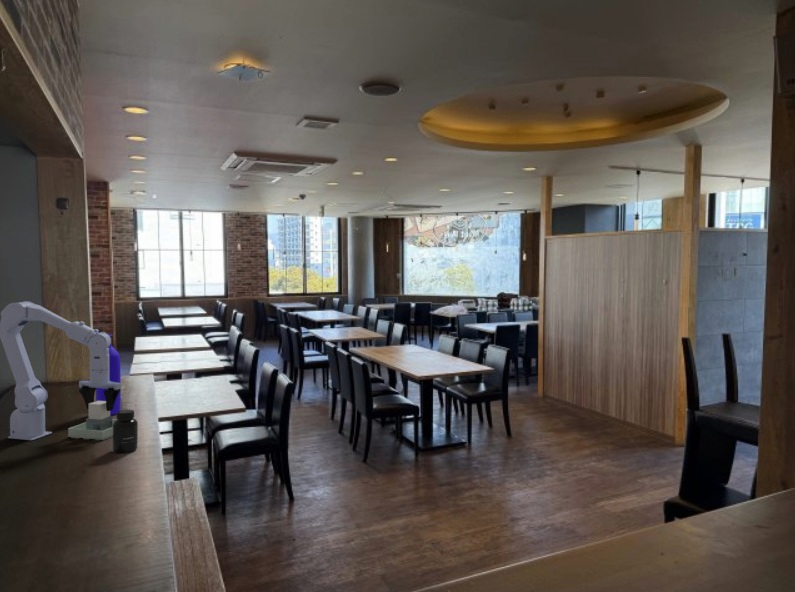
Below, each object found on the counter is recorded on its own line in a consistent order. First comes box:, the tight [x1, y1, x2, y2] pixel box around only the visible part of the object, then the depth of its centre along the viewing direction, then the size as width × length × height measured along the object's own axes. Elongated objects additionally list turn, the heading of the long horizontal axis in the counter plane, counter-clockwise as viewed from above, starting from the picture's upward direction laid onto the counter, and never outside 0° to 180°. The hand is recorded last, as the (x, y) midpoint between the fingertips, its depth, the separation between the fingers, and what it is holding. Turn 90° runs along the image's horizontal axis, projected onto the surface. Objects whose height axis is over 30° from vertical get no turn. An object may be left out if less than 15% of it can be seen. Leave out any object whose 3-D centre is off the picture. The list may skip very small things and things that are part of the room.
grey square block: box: [85, 415, 113, 431], centre depth 184 cm, size 6×6×5 cm
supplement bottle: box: [112, 409, 139, 454], centre depth 168 cm, size 7×7×12 cm
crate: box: [67, 418, 117, 441], centre depth 184 cm, size 13×13×3 cm
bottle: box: [95, 334, 122, 416], centre depth 209 cm, size 8×8×30 cm
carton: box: [88, 401, 111, 420], centre depth 184 cm, size 4×4×5 cm
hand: (100, 409), depth 184 cm, fingers open, 7 cm apart
